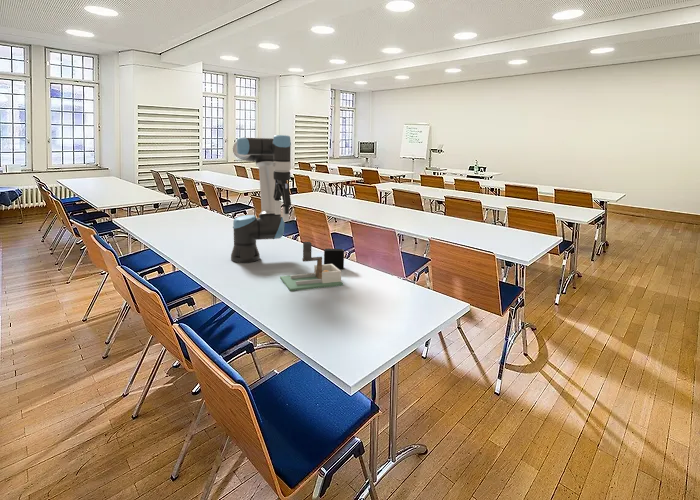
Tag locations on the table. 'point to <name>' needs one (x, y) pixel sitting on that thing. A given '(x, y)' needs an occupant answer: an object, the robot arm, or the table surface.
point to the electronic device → (334, 257)
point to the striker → (312, 258)
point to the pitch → (314, 279)
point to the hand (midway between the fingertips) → (281, 217)
